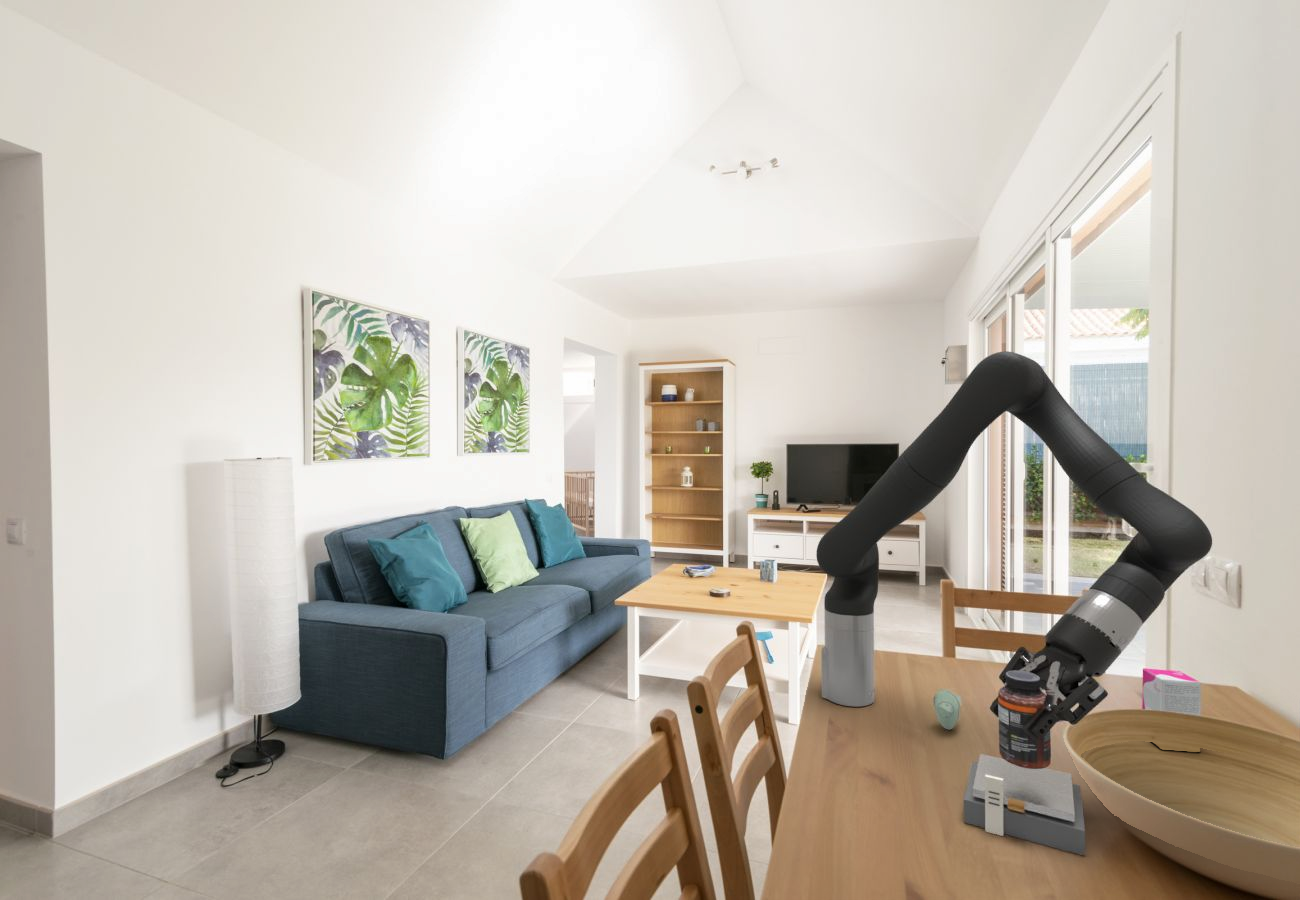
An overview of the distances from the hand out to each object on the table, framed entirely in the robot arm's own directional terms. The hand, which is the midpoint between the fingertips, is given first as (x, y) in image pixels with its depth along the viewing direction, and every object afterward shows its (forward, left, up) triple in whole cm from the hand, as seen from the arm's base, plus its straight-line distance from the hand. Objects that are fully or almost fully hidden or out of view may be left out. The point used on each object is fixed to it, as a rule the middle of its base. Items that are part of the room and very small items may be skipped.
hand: (1011, 724), depth 84 cm
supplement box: (+21, +37, -12) cm, 44 cm away
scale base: (+1, +1, -12) cm, 12 cm away
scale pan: (+1, 0, -9) cm, 9 cm away
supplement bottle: (+1, +1, -5) cm, 5 cm away
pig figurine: (-11, +24, -12) cm, 29 cm away
